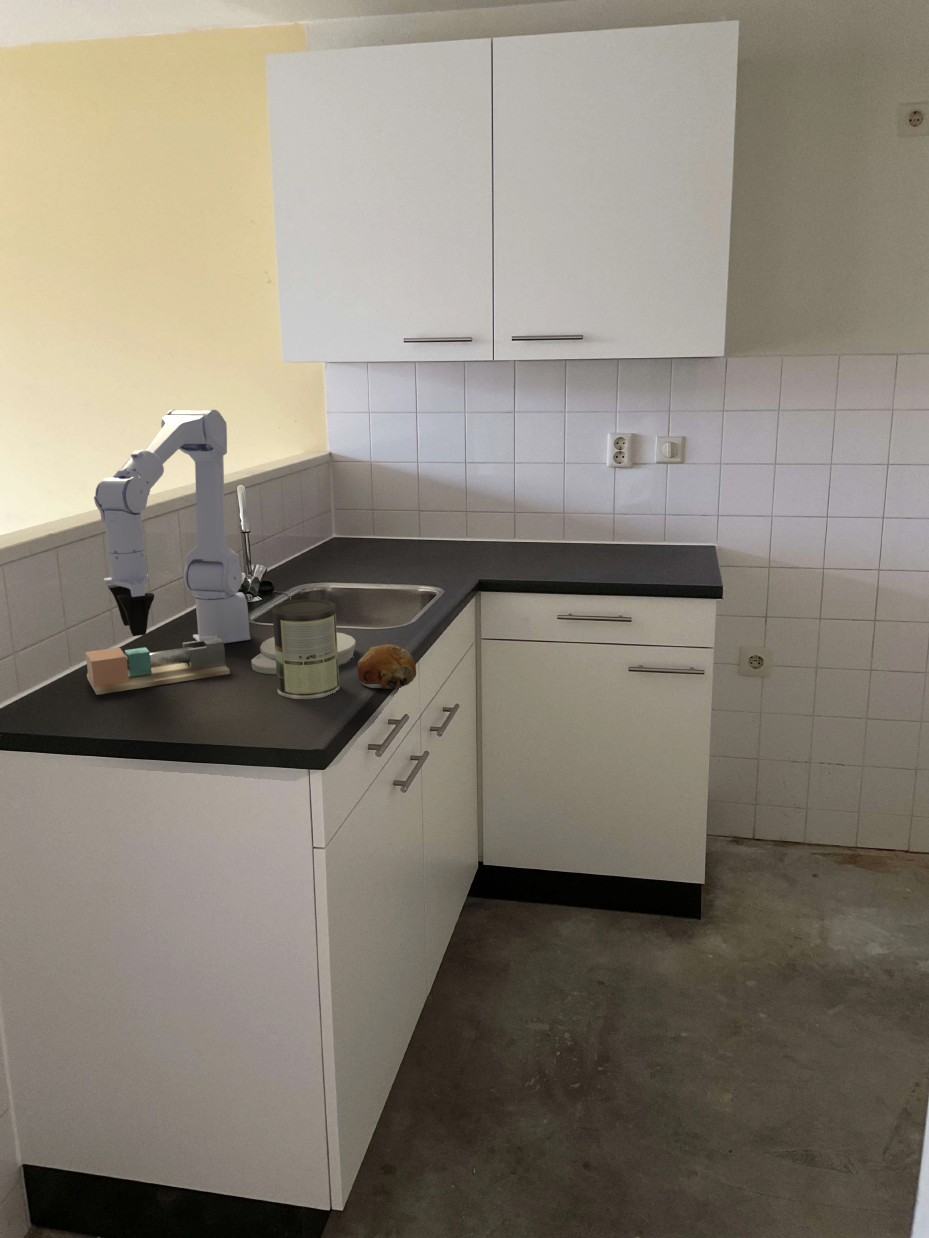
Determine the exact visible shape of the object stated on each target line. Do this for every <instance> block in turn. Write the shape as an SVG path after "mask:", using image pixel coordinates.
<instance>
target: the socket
mask: <svg viewBox="0 0 929 1238" xmlns="http://www.w3.org/2000/svg"><path fill="white" fill-rule="evenodd" d="M85 659H86V667H87V668H86V669H87V674H88V677H89V679H90V681H91V682H92V684H93V686H94V687H99V686H105V685H112V684H118V683H125V682H129V678H128V669H127V659H126V656H125V652H124V651H123V650H122V649H121V647H119V646H118V647H113V648H106V649H99V650H98V649H97V650H92V651H91V650H90V651H85Z"/></svg>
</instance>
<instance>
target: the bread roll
mask: <svg viewBox="0 0 929 1238" xmlns="http://www.w3.org/2000/svg"><path fill="white" fill-rule="evenodd" d="M415 662H416V661H415V659H414V657H413V656H412V654H411V653H410V652H409V651H408V650H406V649H404V648H403V647H401V646H398V645H395V644H388V643H387V644H382V645H377V646H371V647H369V649H368V651H367V652H366V653H364V655H362V656H361V657H360V659H358V661H357V676H358V677H359V678H358V677H357V678H358V681H359V680H360V681H361V682H363V683H364V684H380V685H382V686H383V689H382V690H392V689H400V688H404V687H405V686H409V684H410V683H411V682H413V681H414V679H415V678H416V676H417V666H416V665H417V664H416V663H415ZM360 681H359V682H360Z"/></svg>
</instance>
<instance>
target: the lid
mask: <svg viewBox="0 0 929 1238" xmlns="http://www.w3.org/2000/svg"><path fill="white" fill-rule="evenodd" d="M356 642H357V641H356V639H355V638H354V637H353V636H352V635H348V634H346V633H342V632H337V650H338V665H339V664H341V663H343V662H345V661H347V660H348V659H349V658H351V657H352V656H353V653H354V654H355V652H354V651H355V650H354V649H355V648H356V646H357V645H356V644H357V643H356ZM259 650H260V653H259V654H257V655H256V656H254V657H253V658H252V659H251V660H250V661H251V668H252V671H253V670H254V671H255V672H257V673H261V674H265V675H277V670H276V655H275V640H274V636H272V637H270V638H268V639H266V640H265V641H263V642H261V645H260V647H259ZM353 657H354V656H353Z"/></svg>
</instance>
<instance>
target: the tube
mask: <svg viewBox="0 0 929 1238" xmlns="http://www.w3.org/2000/svg"><path fill="white" fill-rule="evenodd" d="M191 648H193V647H188V648H183V647H182V648H174V649H168V650H159V651H154V652H150V650H149V649H148V648H147V647H146V646H145V647H139V648H138V647H137V648H132V649H124V654H125V656H126V659H127V669H128V674H129V676H130V677H134V676H141V675H147V674H152V672H151V668H155V667H162V666H168V665H175V664H182V663H189V651H188V649H191Z"/></svg>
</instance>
